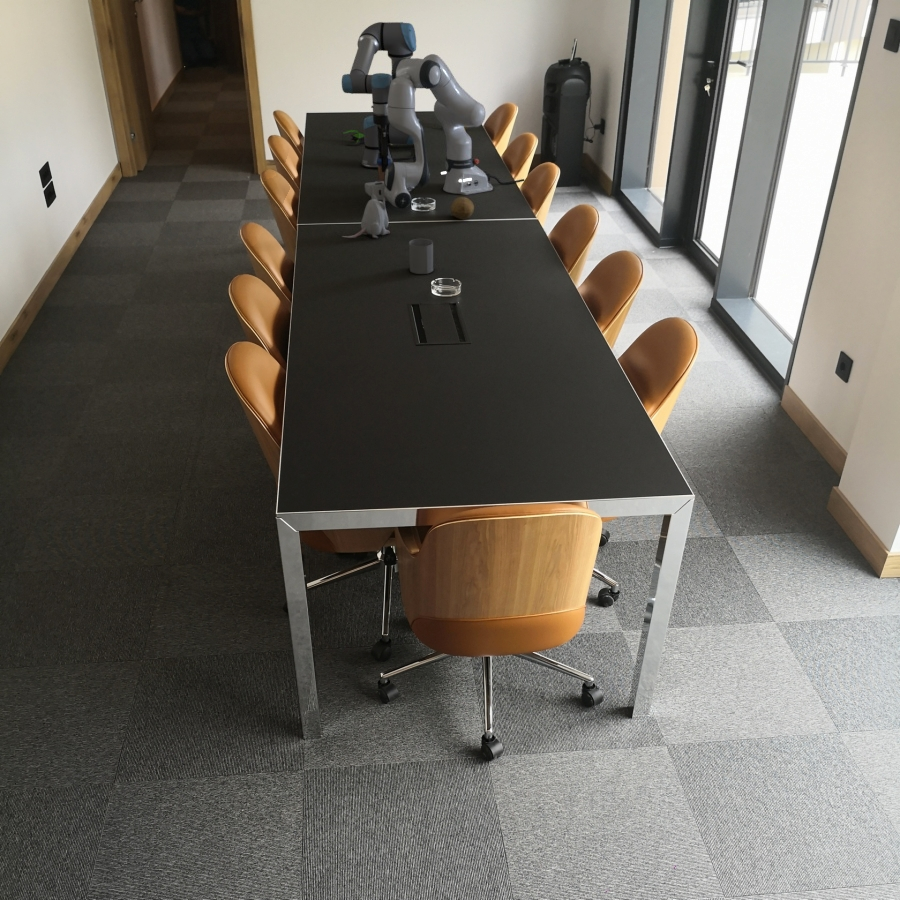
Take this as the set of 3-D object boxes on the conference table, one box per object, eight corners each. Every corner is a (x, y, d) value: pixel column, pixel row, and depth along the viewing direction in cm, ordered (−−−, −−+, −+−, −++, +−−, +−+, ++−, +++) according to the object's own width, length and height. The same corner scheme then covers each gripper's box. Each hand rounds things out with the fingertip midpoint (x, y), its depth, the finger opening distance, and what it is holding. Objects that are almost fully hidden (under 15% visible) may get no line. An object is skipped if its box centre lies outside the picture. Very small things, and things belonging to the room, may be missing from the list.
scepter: (398, 127, 467) (342, 124, 464) (398, 142, 460) (341, 139, 457) (398, 136, 472) (342, 134, 469) (398, 151, 464) (341, 149, 462)
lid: (375, 165, 373) (375, 161, 372) (378, 161, 378) (377, 157, 377) (389, 165, 373) (389, 161, 372) (391, 162, 378) (391, 158, 377)
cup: (409, 265, 311) (408, 238, 306) (432, 265, 312) (431, 238, 307) (410, 274, 304) (409, 246, 299) (433, 273, 305) (433, 246, 299)
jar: (378, 195, 385) (377, 160, 377) (390, 194, 386) (388, 159, 377) (379, 198, 381) (378, 163, 372) (391, 198, 381) (390, 162, 373)
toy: (395, 233, 341) (394, 195, 333) (350, 248, 327) (348, 209, 318) (380, 228, 346) (378, 190, 338) (334, 242, 332) (332, 203, 324)
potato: (472, 212, 364) (472, 193, 359) (475, 223, 352) (475, 203, 348) (449, 213, 363) (449, 193, 359) (451, 223, 351) (451, 204, 347)
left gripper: (370, 109, 371) (372, 164, 384) (375, 118, 356) (378, 175, 368) (387, 108, 373) (389, 163, 385) (393, 118, 357) (395, 174, 370)
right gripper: (415, 180, 371) (406, 172, 382) (369, 185, 365) (361, 176, 376) (415, 195, 374) (406, 186, 385) (370, 200, 368) (361, 191, 379)
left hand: (383, 169), depth 377 cm, fingers closed on lid, 6 cm apart
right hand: (383, 181), depth 380 cm, fingers closed on jar, 5 cm apart
